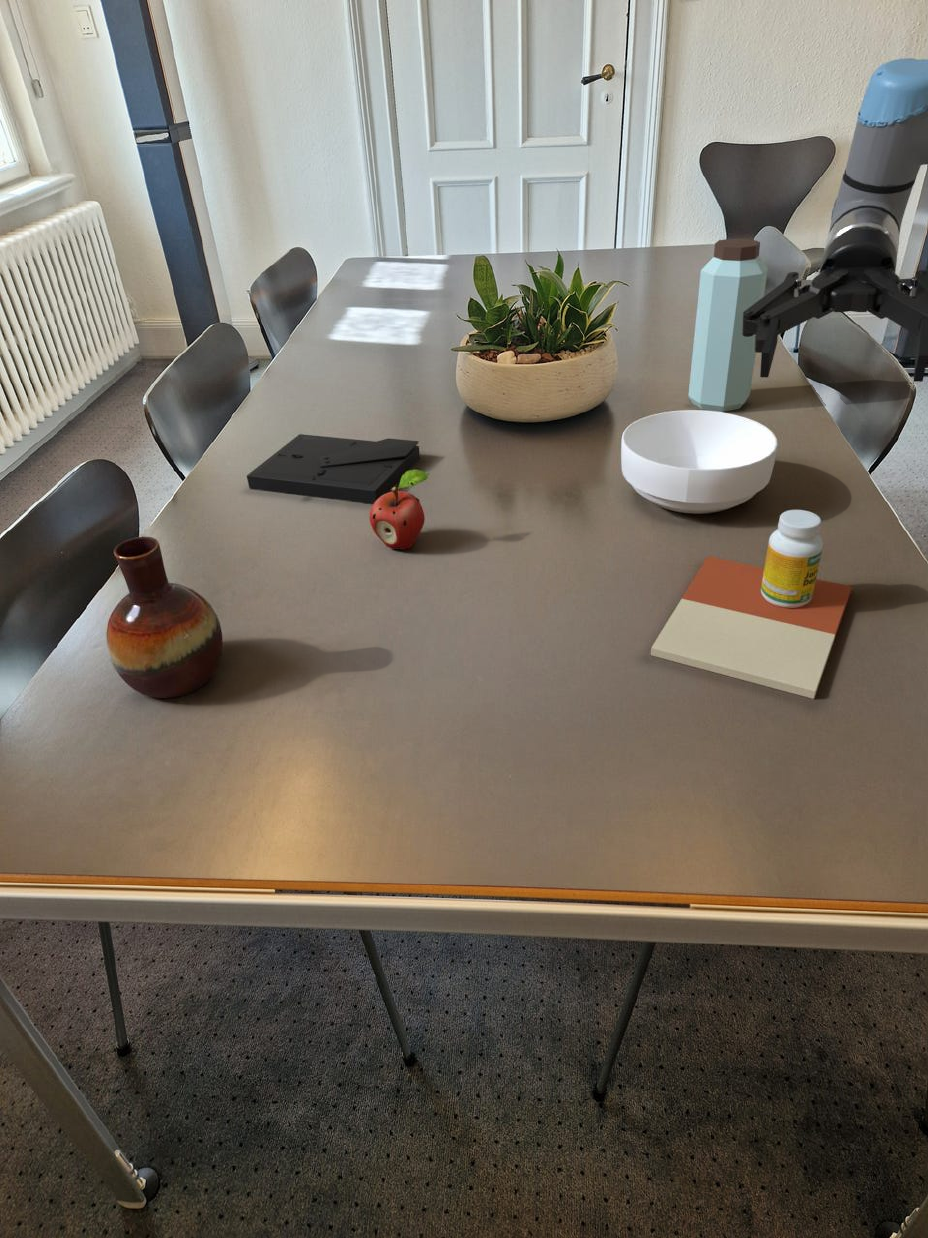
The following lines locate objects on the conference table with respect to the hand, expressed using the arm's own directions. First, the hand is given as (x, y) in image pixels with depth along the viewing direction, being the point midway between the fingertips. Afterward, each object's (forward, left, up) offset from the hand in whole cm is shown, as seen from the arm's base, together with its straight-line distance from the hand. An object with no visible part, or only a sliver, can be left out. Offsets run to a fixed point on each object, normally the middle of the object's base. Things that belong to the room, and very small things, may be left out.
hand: (840, 367), depth 80 cm
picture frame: (+68, -5, -26) cm, 73 cm away
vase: (+54, +42, -26) cm, 73 cm away
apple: (+47, +9, -26) cm, 54 cm away
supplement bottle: (+1, +3, -25) cm, 25 cm away
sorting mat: (+3, +8, -26) cm, 27 cm away
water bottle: (+24, -53, -26) cm, 64 cm away
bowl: (+17, -18, -26) cm, 36 cm away
